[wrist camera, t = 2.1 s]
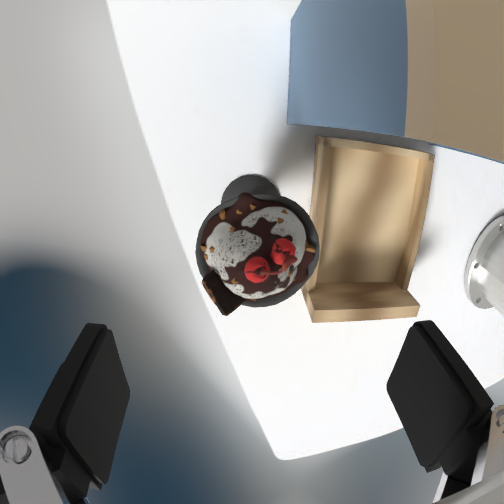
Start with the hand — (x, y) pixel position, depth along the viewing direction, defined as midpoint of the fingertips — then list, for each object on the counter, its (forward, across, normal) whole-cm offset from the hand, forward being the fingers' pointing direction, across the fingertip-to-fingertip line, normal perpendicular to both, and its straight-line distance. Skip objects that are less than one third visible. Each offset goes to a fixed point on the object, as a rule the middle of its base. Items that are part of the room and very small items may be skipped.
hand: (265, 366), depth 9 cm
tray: (+18, -10, +1) cm, 21 cm away
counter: (+18, -10, -11) cm, 24 cm away
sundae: (+19, 0, 0) cm, 19 cm away
